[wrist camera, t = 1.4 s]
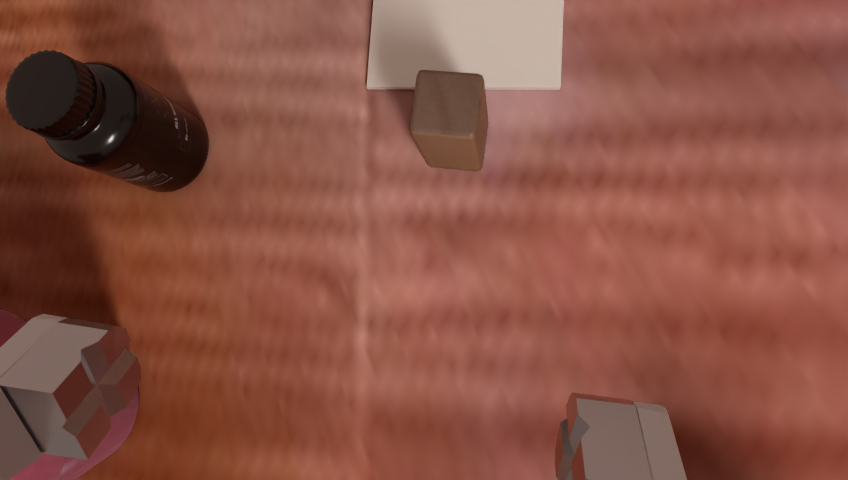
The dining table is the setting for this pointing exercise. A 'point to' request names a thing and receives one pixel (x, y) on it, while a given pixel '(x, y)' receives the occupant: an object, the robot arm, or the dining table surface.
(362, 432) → the dining table surface
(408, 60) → the plate
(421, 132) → the wooden block
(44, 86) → the supplement bottle
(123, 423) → the plant pot
